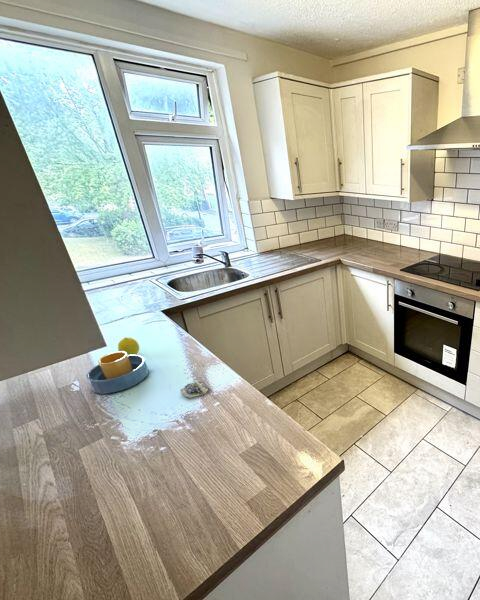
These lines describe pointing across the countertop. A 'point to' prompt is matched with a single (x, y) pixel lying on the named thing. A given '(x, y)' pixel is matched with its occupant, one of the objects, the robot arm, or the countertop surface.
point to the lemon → (128, 346)
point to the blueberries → (194, 389)
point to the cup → (115, 365)
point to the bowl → (119, 383)
